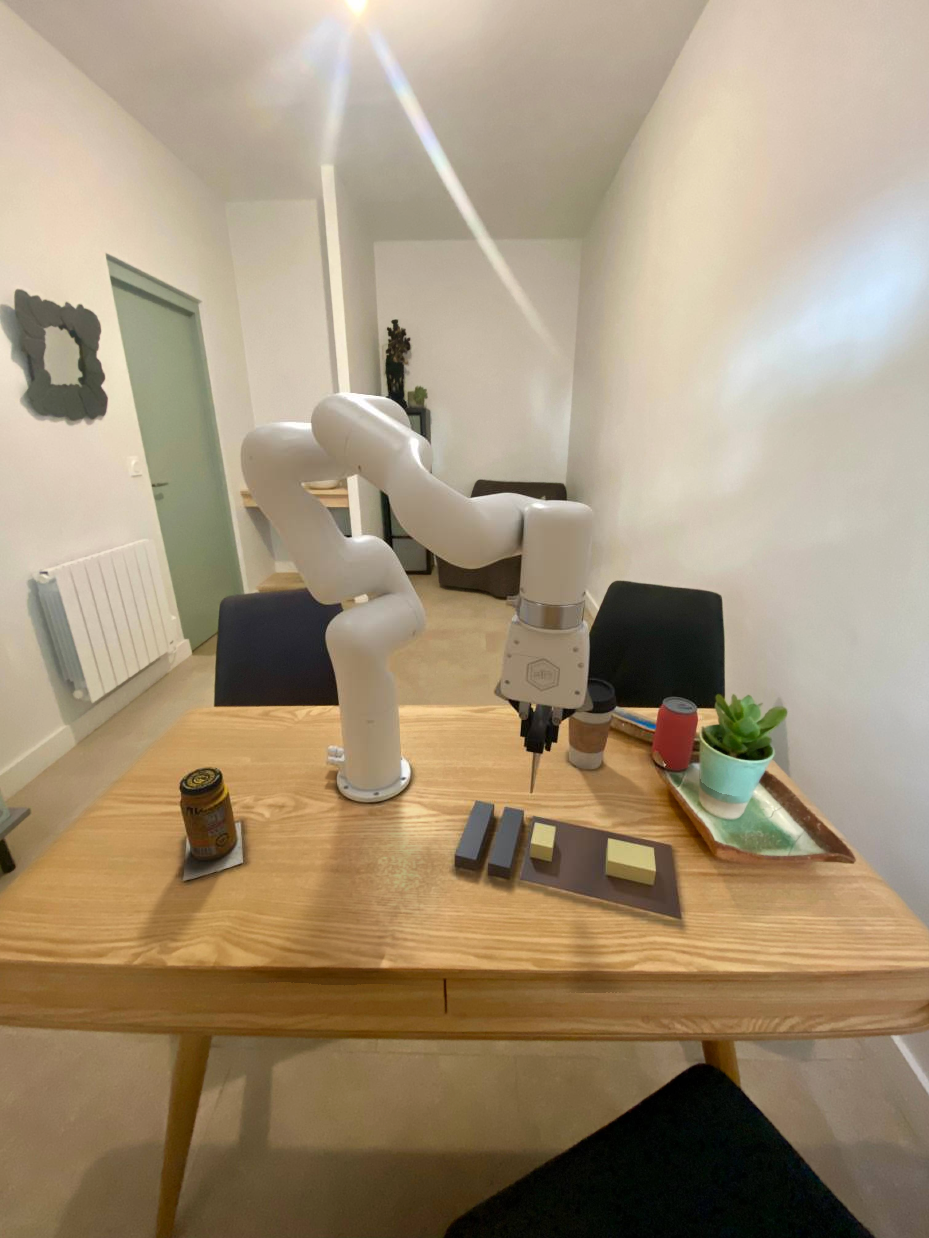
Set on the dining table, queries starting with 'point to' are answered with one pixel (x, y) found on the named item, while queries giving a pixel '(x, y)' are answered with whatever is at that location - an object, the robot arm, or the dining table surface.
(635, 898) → the board
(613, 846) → the butter
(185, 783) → the condiment
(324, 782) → the dining table surface
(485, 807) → the stand
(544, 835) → the butter slice
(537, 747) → the cleaver
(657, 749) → the beer can
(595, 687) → the coffee cup
